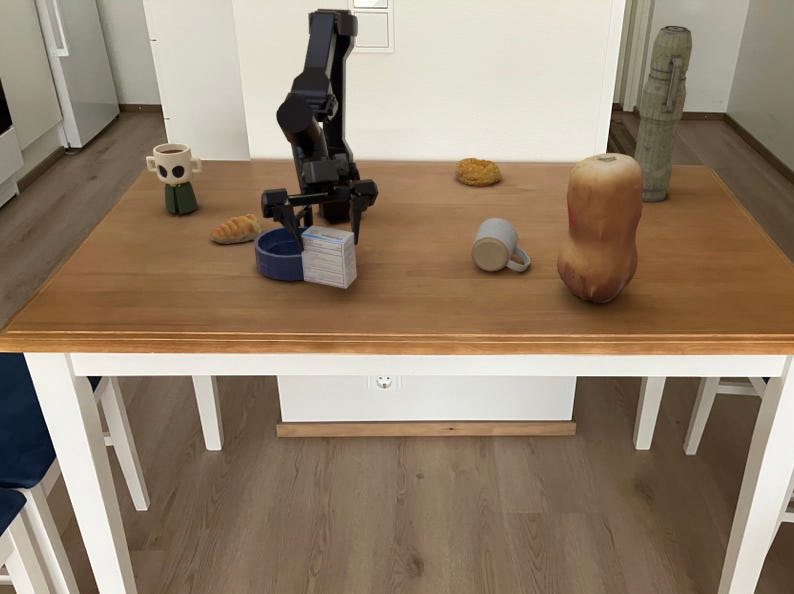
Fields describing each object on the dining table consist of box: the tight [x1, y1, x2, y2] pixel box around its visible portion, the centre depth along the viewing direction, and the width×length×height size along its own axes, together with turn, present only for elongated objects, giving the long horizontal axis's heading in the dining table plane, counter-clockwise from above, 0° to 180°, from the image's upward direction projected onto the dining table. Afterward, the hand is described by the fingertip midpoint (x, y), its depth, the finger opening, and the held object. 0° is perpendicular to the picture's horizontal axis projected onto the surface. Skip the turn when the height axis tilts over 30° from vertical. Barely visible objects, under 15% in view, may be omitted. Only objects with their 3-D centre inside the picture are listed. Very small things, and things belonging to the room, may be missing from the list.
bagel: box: [453, 157, 503, 187], centre depth 178 cm, size 10×11×5 cm
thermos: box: [633, 25, 693, 203], centre depth 165 cm, size 9×12×35 cm
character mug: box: [145, 142, 204, 214], centre depth 157 cm, size 11×7×13 cm, turn 90°
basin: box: [253, 225, 309, 282], centre depth 140 cm, size 13×13×5 cm
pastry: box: [210, 213, 263, 245], centre depth 149 cm, size 9×7×4 cm
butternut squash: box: [556, 152, 644, 304], centre depth 127 cm, size 14×13×25 cm
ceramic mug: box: [470, 217, 531, 272], centre depth 141 cm, size 11×8×8 cm
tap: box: [295, 205, 314, 227], centre depth 143 cm, size 7×4×9 cm, turn 166°
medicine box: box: [301, 224, 358, 289], centre depth 129 cm, size 8×4×9 cm, turn 71°
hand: (329, 247), depth 126 cm, fingers closed on medicine box, 8 cm apart
